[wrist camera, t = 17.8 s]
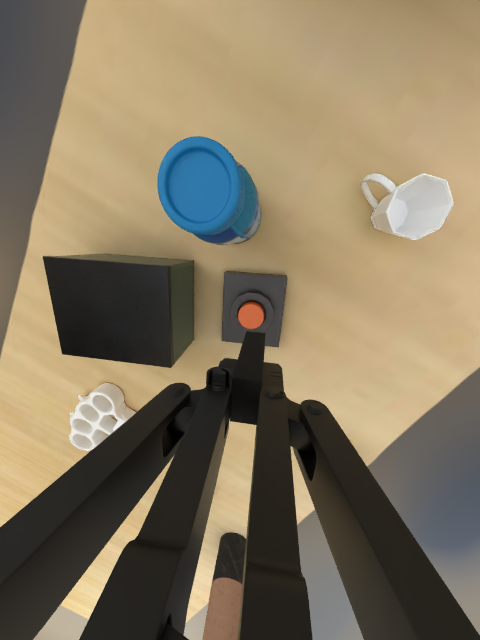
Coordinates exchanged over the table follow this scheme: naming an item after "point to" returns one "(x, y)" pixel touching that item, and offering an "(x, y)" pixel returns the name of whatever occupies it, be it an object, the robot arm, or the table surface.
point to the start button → (251, 315)
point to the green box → (179, 294)
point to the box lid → (112, 309)
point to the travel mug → (226, 589)
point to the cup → (410, 205)
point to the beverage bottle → (208, 192)
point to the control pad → (253, 289)
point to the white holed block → (98, 416)
